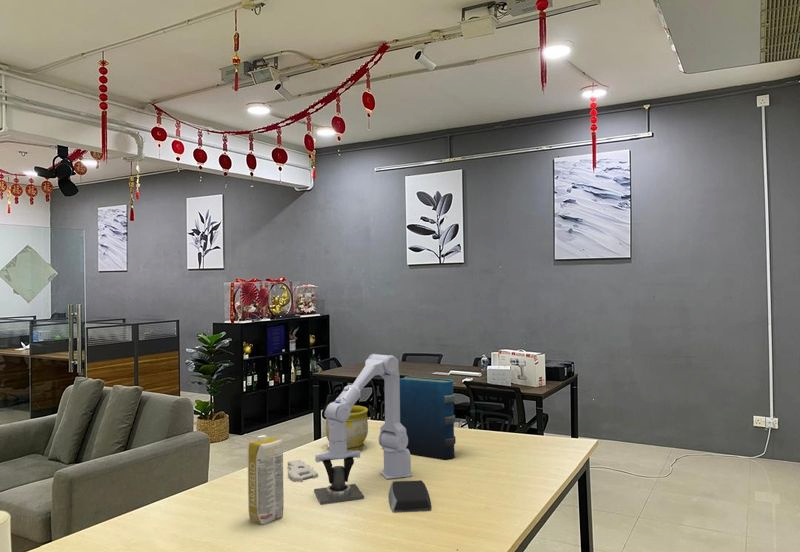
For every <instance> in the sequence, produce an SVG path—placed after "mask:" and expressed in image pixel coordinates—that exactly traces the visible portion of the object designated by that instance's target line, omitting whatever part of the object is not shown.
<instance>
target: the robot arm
mask: <svg viewBox="0 0 800 552" xmlns="http://www.w3.org/2000/svg"><path fill="white" fill-rule="evenodd" d="M364 363H365V364H364V367H363V369H362V370H361V371H360V373H359V374H358V376H357V377H356V379H355V380H354V382H353V383H352V384H348V385H346V386H344V388H343V390H342V391H341V393H340V394H339V395H338V396H337V397H336V399H335V400H334V401H332V402H330V403H329V404H327V406H326V408H325V410H326V411H325V410H324V417H325V419H326V418H327V420H328V425H329V440H328V452H325V453H319V454H315V463H320V462H322V464H323V465H324V468H325V470H326V474H327V476H328V483H329V484H330V485H331V484H332V467H333V463H332V461H337V460H338V461H339V460H343V467H344V468H345V483H348V482H349V476H350V473H351V471H352V470H351V469H352V467H353V465H354V463H355V459H356V458H357V459H359V458H360V459H361V450H357V451H347V437H346V420H347V419H348V418H349V416H350V411H351V410H352V407H353V405H355V404H356V403H357V401H358V400H359V399H360V398H361V396H362V395H361V394H362V393H361V391H362V390H363V389H364V388H365V386H367V384H368V383H369V382H370V381H371V380H372V379H373V377H375V376H380V377H381V378H382V379H384V380H383V381H384V423H383V424H382V425H381V426H380V430H379V431H380V432H379V436H378V444H379V446H381V450H383V470H381V471H380V474H381V475H382V476H383V477H384V478H385V479H386V480H389V479H390V480H391V479H400V478H405V477H411V476H413V475H412V459H411V458H412V457H411V456H412V455H410V452H409V450H408V449H406V447H407V445H408V437H407V434H406V428H405V427H404V426H403V425H402V424H401V423H400V369H399V366H400V365H399V359H397V357H396V356H394V355H392V354H388V355H387V354H377V353H372V354H370V355H369V356H368V358H367V359H366V360H365V362H364ZM354 458H355V459H354Z"/></svg>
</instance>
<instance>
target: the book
mask: <svg viewBox="0 0 800 552" xmlns="http://www.w3.org/2000/svg"><path fill="white" fill-rule="evenodd" d="M455 396H456V395H455V393H454V380H453V379H449V378H447V379H446V378H435V377H424V376H423V377H421V376H410V375H409V376H408V375H407V376H406V375H405V376H404V378H400V423H401V424H402V425H403V426H404V427H405V428H406V434H407V437H408V445H407V447H406V449H408V450H409V452H410V456H417V457H422V458H429V459H435V460H440V461H450V460H452V459H455V444H456V440H457V439H456V438H457V437H456V436H455V423H456V415H455V414H454V413H455V412H454V411H455V410H454V408H455V407H454V402H455V400H456V397H455Z"/></svg>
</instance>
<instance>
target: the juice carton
mask: <svg viewBox="0 0 800 552" xmlns="http://www.w3.org/2000/svg"><path fill="white" fill-rule="evenodd" d="M247 444H248V445H247V501H248V502H247V504H248V507H247V508H248V516H249V520H250V521H252V522H255V523H258V524H260V525H265V524H268V523H270V522H272V521H275V520H278V519H281V518H283V516H284V508H285V507H284V504H285V501H284V500H285V499H284V495H285V494H284V446H283V440H282V439H281V438H276V437H273V436H267V435H266V434H264V435H263V434H262V435H258V436H257V440H251V441H248V443H247Z"/></svg>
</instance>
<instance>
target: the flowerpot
mask: <svg viewBox="0 0 800 552" xmlns="http://www.w3.org/2000/svg"><path fill="white" fill-rule="evenodd" d="M325 411H326V409H325V410H324V412H325ZM368 411H369V408H367V407H366V406H362V405H355V404H354V405H353V407H352V410H351V411H350V416H349V418H348V419H347V420H346V437H347V451H357V450H359V451H361V450H362V449H363V447H364V446H365V443H364V442H365V441H366V439H367V437H368V432H369V425H368V424H369V422H368V414H367V413H368ZM325 435H326V438H327V441H329V425H328V420H327V418H326V417H325Z"/></svg>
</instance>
